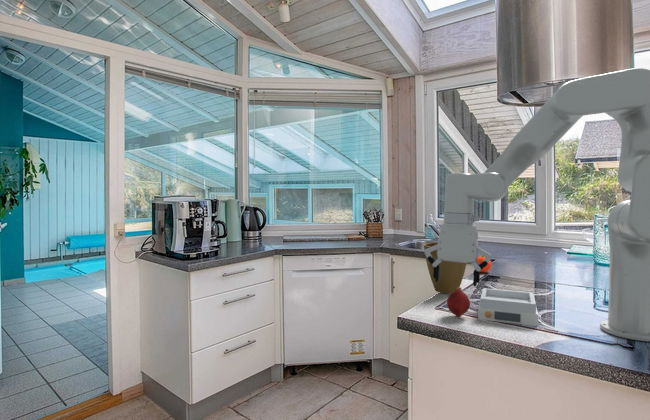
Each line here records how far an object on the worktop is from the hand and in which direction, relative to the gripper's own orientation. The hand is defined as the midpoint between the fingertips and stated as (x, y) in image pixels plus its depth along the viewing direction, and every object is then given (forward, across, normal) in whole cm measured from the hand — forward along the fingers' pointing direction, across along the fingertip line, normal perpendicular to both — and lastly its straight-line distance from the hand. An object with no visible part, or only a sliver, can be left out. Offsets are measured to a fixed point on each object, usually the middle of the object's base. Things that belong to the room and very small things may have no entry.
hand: (455, 283), depth 106 cm
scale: (+9, -13, -7) cm, 17 cm away
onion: (+9, -1, 0) cm, 9 cm away
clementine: (+9, -4, -69) cm, 70 cm away
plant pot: (+9, +6, -28) cm, 30 cm away
